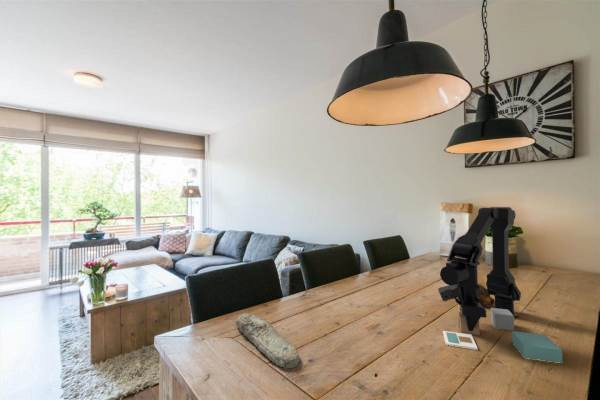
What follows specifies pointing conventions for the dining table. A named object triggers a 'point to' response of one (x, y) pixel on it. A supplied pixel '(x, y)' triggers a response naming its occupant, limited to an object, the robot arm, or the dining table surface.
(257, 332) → the elongated rock
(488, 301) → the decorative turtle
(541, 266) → the dining table surface
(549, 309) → the dining table surface
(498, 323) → the slate grey block
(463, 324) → the walnut block
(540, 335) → the teal base block
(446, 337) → the tile
